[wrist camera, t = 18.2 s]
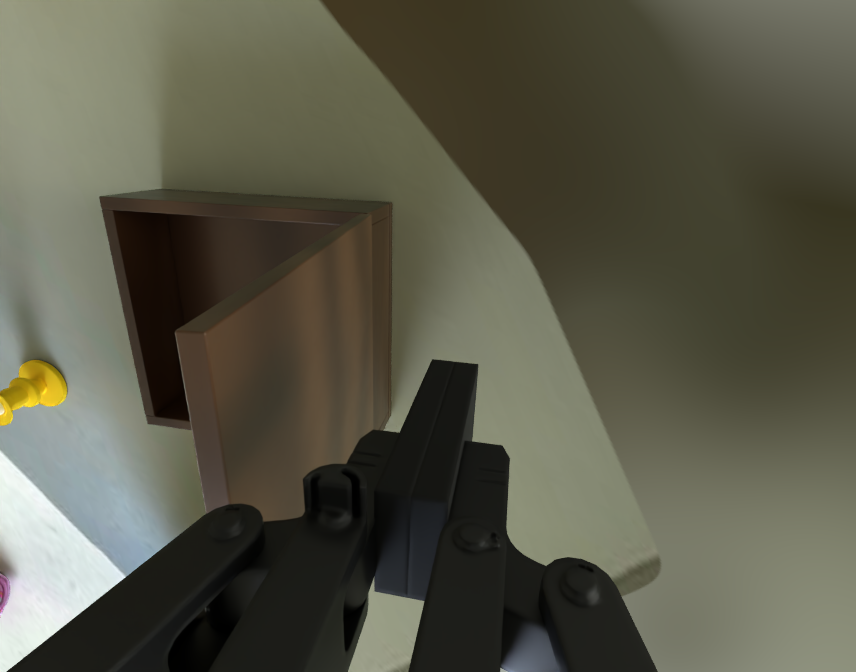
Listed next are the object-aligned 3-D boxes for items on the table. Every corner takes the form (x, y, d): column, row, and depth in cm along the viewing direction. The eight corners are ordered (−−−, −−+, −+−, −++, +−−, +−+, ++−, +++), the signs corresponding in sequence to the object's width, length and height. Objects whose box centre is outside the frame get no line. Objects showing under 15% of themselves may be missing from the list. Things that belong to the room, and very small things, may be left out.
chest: (193, 389, 47) (147, 424, 41) (160, 188, 40) (98, 196, 34) (391, 415, 44) (370, 456, 38) (392, 202, 37) (367, 213, 31)
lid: (252, 785, 19) (272, 787, 19) (172, 330, 12) (205, 332, 12) (363, 459, 38) (373, 460, 38) (359, 213, 31) (371, 214, 31)
